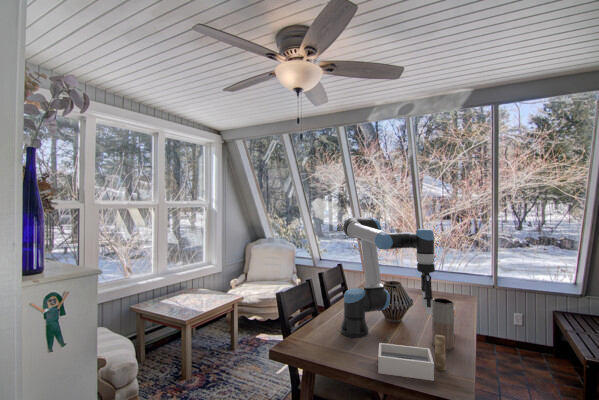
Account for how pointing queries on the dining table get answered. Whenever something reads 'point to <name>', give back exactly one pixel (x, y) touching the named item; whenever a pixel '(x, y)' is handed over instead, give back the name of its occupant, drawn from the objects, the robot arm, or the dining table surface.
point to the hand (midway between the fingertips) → (427, 309)
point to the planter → (443, 321)
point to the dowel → (440, 352)
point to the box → (405, 361)
